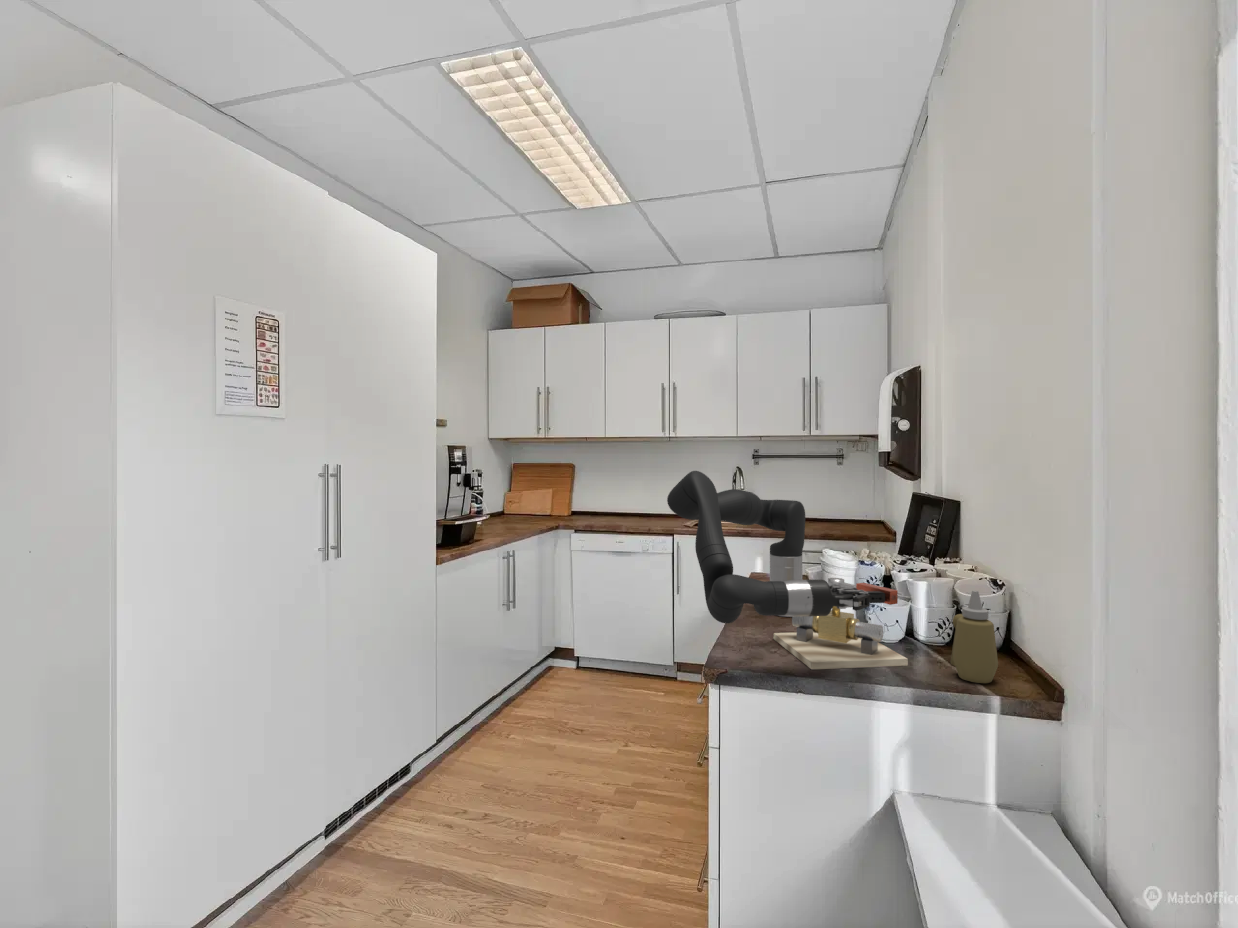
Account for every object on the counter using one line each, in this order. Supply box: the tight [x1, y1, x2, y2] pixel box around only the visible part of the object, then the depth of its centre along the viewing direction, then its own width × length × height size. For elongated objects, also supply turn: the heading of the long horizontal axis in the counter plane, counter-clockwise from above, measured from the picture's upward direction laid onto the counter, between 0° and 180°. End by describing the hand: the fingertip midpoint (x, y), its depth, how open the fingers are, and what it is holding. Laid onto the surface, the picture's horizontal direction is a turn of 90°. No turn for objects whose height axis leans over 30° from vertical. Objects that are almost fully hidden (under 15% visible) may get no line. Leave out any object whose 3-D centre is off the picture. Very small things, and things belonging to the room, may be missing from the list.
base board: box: [773, 631, 909, 670], centre depth 140 cm, size 22×22×2 cm
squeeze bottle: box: [953, 590, 999, 684], centre depth 122 cm, size 8×8×18 cm
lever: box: [827, 577, 898, 606], centre depth 133 cm, size 18×4×3 cm, turn 25°
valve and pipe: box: [791, 606, 884, 655], centre depth 140 cm, size 20×6×13 cm, turn 52°
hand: (883, 596), depth 126 cm, fingers closed
